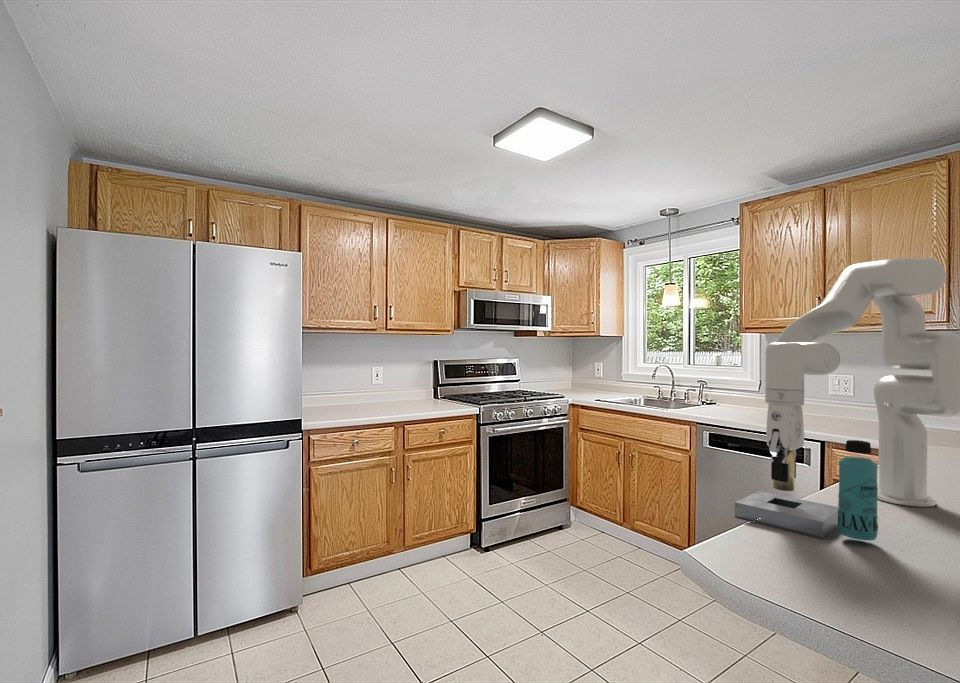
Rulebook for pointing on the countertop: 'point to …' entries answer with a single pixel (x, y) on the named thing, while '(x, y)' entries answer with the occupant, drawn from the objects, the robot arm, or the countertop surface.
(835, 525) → the jig
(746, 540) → the countertop surface
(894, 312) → the robot arm
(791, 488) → the bushing
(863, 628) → the countertop surface
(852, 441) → the beverage bottle
